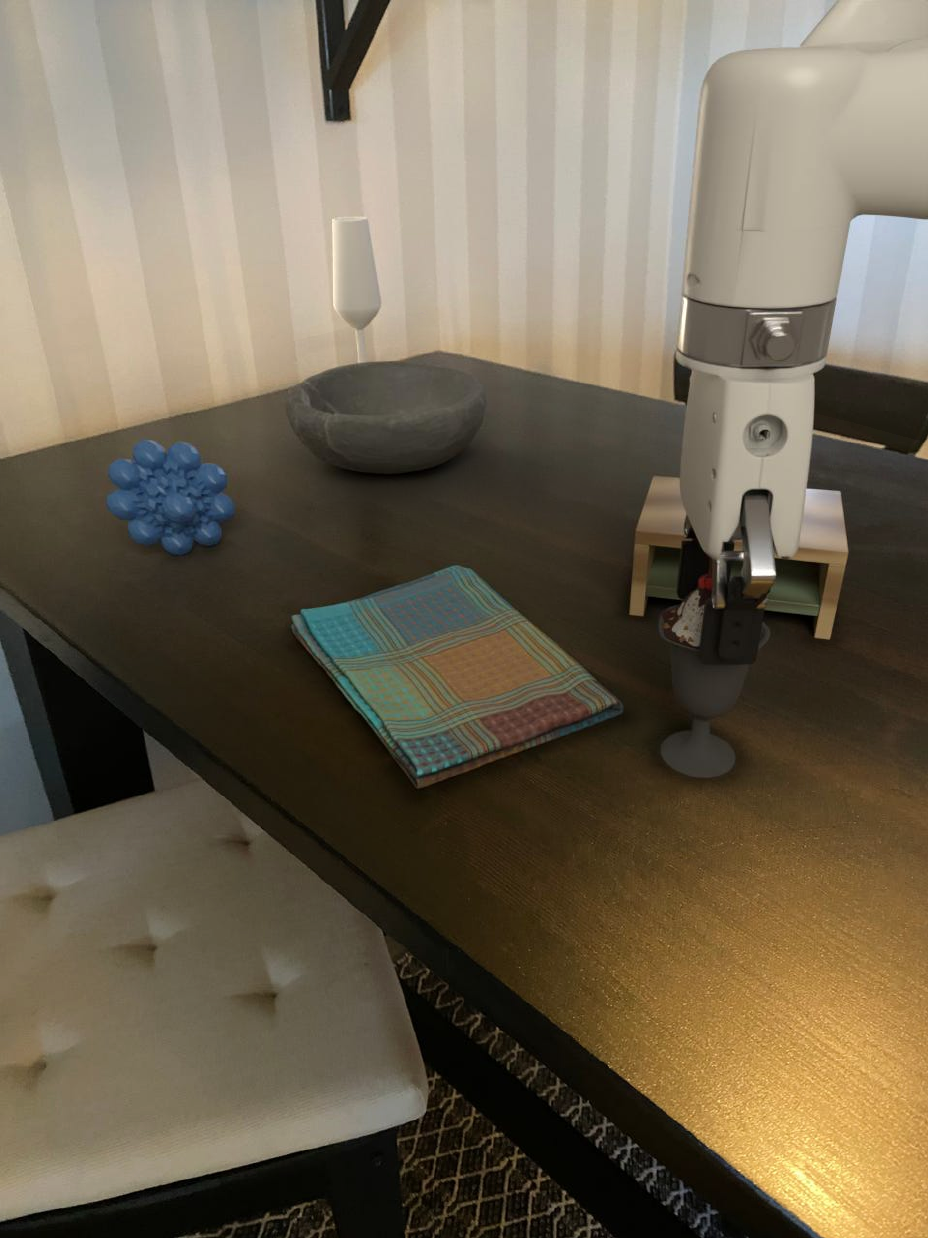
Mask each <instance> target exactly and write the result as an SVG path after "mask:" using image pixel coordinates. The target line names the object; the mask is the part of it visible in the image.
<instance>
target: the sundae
mask: <svg viewBox="0 0 928 1238" xmlns="http://www.w3.org/2000/svg"><path fill="white" fill-rule="evenodd" d="M700 547H701V545H700ZM701 548H702V547H701ZM707 555H708V554H707ZM708 557H709V561H710V566H709V573H708V574H705V575H703V576H701V577H700V578H699V580H698V581H699V583H698V587H697V589H696V590H695V591H693V592H691V593H690V594H689V595H688V596H686V597H685V599H684V600H682V602H681V603H680V604H675V605H672V606H669V607H667V608H666V609H664V610H661V611H660V614H659V619H658V632H659V636H660V638H662V641H665V642H667V643H668V645H669V653H670V668H671V669H670V671H671V673H670V674H671V684H672V692H673V696H674V700H676V703H677V704H678V705H679V706H680V707H681V708H682V709H683V710H684V711H685V712H687V713H688V714H690V715H691V716H692V723H691V730H682V731H677V732H674V733H672V734H670V735H669V736H667V737H666V738H665V739H664V740H663V742H662V743H661V745H660V756H661V758H662V759H663V762H664V763H665V764H666V765H668V767H670V768H671V769H673V770H674V771H676V772H679V773H681V774H683V775H686V776H688V777H693V778H700V779H701V778H703V779H709V778H715V777H720V776H722V775H724V774H725V775H726V774H727V773H728V772H730V771H731V769H733V767H734V765H735V764H736V753H735V750H734V749H733V748H732V746H731V745H730V744H729V743H728V742H727V741H726V740H725V739H723V738H721V737H719V736H717V735H714V734H712V733H711V723H712V719H713V718H714V719H715V718H719V717H721V716H722V715H725V713H727V712H729V711H731V710H732V709H733V708H734V707H735V705H736V703H737V701H738V699H739V696H740V695H741V692H742V689H743V686H744V684H745V681H746V678H747V675H748V671H749V668H750V666H751V664H749V665H704V664H702V663H701V662H700V659H699V656H698V653H699V645H700V637H701V629H702V621H703V613H704V605H705V600H712V558H711V557H710V556H709V555H708ZM770 637H771V630H770V628H769V627H768V626H767V625H766V623H765V622H764V621H763V622H762V628H761V634H760V640H759V646H758V650H760V649H761V648H762V647H763V646H764V645H765V644H766V643H767V642H768V640H769V639H770Z"/></svg>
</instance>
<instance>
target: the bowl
mask: <svg viewBox="0 0 928 1238" xmlns="http://www.w3.org/2000/svg"><path fill="white" fill-rule="evenodd" d="M286 394H287V395H286V399H285V413H286V415H287V419H288V422H289V424H290V427H291V429H292V431H293V432H294V434H295V436H297V438H298V439H299V440H300V442H301V443H302V444H303V445H304V447H306V448H307V450H308V451H309V452H310V453H311V454H312V455H314V456H315V458H317V459H319V460H320V461H322V462H324V463H327V464H328V465H332V466H335V467H338V468H340V469H341V468H342V469H345V470H349V471H354V472H358V473H359V472H360V473H369V474H378V475H379V474H384V475H396V474H404V473H411V472H418V471H423V470H427V469H430V468H433V467H436V466H440V465H441V464H444V463H446V462H448V461H449V460H452V459H453V458H454V457H455V456H458V454H460V453H461V452H462V451H463V450H464V449H465V448H466V447H467V446H468V445H469V444H470V443H472V441H473V439H474V438H475V437H476V435H477V433H478V431H479V430H480V428H481V426H482V423H483V422H484V417H485V415H486V406H487V399H486V397H487V396H486V391H485V389H484V387H483V385H482V384H481V383H480V381H479V380H478V379H477V378H476V377H474V376H473V375H471V374H469V373H468V372H465V371H463V370H460V369H457V368H453V367H449V366H445V365H437V364H427V363H419V362H410V361H397V360H387V361H385V360H384V361H383V360H382V361H366V362H364V363H358V362H357V363H351V364H346V365H340V366H336V367H333V368H329V369H326V370H324V371H321V372H319V373H316V374H314V375H312V376H309V377H308V378H305V379H304V380H303V381H301V382H300V383H297V384H295V385H293V386H291V388H289V389H288V391H287V393H286Z"/></svg>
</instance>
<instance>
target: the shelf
mask: <svg viewBox="0 0 928 1238" xmlns="http://www.w3.org/2000/svg"><path fill="white" fill-rule="evenodd" d="M842 498H843V497H842V493H841V491H840V490H828V489H819V488H807V490H806V498H805V505H804V513H803V520H802V528H801V535H800V541H799V547H798V551H797V553H796V554H795V555H794V556H793V557H792V558H791V559H787V560H785V559H782V558H781V557H778V556H777V555H776V553H775V551H774V560H775V569H776V579H775V583H774V584H773V586H772V587H771V589H770V593H768V595H767V606H766V608H765V610H764V611H770V612H777V613H778V612H779V613H785V614H794V615H795V614H797V615H804V616H812V622H813V623H812V624H813V638H814V639H823V640H831V636H832V633H833V628H834V623H835V617H836V613H837V608H838V604H839V599H840V595H841V589H842V585H843V580H844V576H845V571H846V565H847V561H848V557H849V546H848V538H847V530H846V523H845V514H844V508H843V499H842ZM686 514H687V513H686V511H685V508H684V505H683V503H682V499H681V494H680V477H675V476H674V477H673V476H663V475H662V476H661V475H653V476H652V479H651V483H650V485H649V489H648V492H647V495H646V498H645V501H644V504H643V507H642V510H641V512H640V515H639V519H638V522H637V526H636V528H635V532H634V533H635V535H634V547H633V558H632V559H633V560H632V573H631V585H630V586H631V587H630V598H629V600H630V601H629V610H628V611H629V614H628V615H630V616H638V617H644V616H645V612H646V608H647V604H648V600H649V598H650V597H652V598H660V599H667V600H676V601H683V600H682V599H680V598H679V597H678V595H677V592H676V589H677V580H678V571H679V561H680V552H681V542H682V541H692V539H685V538H684V522H685V518H686ZM733 541H734V543H735V545H734V551H743V549H742V540H733ZM742 568H743V562H732V567H731V574H730V580H731V579H732V578H733V577H735V576H741V571H742Z"/></svg>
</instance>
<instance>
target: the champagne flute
mask: <svg viewBox="0 0 928 1238" xmlns="http://www.w3.org/2000/svg"><path fill="white" fill-rule="evenodd" d="M331 220H332V221H331V233H332V234H331V235H332V237H331V238H332V306H333V310H334V311H335V312H336V314H337V315H338V317H339V318H340V319H341V320H343V321H344V323H346V324H347V325H349V327H351V328H353V329H354V331H355V340H356V353H357V361H358V362H357V363H364V362H367V353H366V341H365V328H367V327H368V326H369V325H370V324H371V322H373V320H374V319H375V318H376V317H377V315H378V314H379V311H380V310H381V308H382V299H381V292H380V285H379V279H378V274H377V268H376V267H377V266H376V261H375V255H374V249H373V248H374V247H373V243H372V237H371V236H372V235H371V230H370V225H369V219H368V217H367V216H358V215H357V216H356V215H355V216H340V217H336V218H332V219H331Z"/></svg>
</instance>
